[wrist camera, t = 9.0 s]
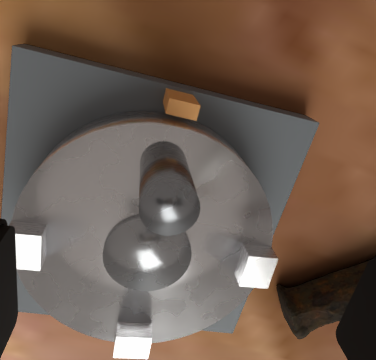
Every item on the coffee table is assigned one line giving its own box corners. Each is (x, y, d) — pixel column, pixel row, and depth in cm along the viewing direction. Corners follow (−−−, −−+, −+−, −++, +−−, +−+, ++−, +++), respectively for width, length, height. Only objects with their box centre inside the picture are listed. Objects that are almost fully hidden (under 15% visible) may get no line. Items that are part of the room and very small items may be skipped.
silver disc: (25, 303, 24) (-26, 421, 17) (29, 89, 18) (-46, 129, 11) (228, 315, 27) (259, 422, 20) (285, 132, 21) (359, 187, 14)
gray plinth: (24, 43, 20) (-12, 49, 15) (305, 115, 23) (344, 137, 19) (5, 289, 26) (-24, 344, 22) (227, 314, 30) (242, 366, 25)
